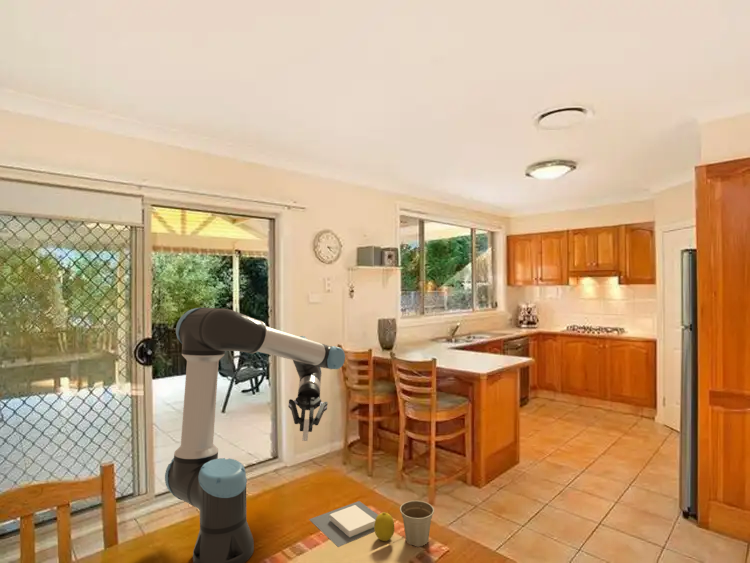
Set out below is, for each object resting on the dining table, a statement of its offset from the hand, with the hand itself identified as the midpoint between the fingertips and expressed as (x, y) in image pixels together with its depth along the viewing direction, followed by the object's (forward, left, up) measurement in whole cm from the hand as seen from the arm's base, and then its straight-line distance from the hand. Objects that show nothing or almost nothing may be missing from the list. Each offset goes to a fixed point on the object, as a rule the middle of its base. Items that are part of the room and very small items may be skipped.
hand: (305, 436), depth 128 cm
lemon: (+23, -6, -26) cm, 36 cm away
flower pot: (+32, -5, -26) cm, 42 cm away
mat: (+13, +2, -26) cm, 29 cm away
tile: (+10, +5, -25) cm, 27 cm away
